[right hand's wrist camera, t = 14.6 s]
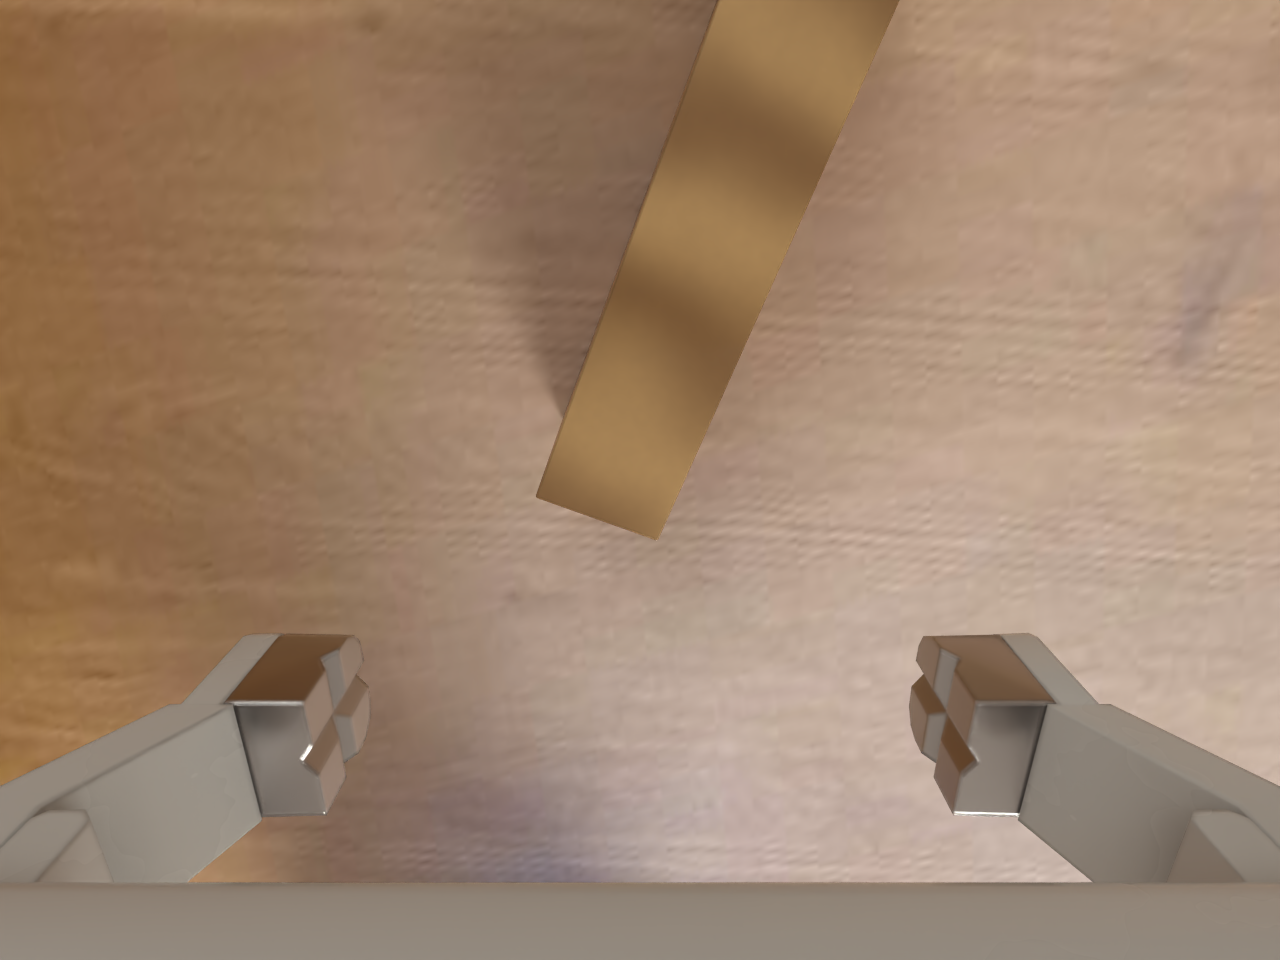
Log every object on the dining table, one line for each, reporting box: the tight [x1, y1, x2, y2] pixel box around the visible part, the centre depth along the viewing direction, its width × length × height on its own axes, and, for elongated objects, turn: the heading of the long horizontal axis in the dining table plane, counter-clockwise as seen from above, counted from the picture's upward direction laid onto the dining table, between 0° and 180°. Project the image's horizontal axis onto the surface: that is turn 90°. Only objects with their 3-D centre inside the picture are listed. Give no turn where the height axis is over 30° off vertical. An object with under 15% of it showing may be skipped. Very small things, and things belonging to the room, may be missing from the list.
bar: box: [536, 0, 899, 540], centre depth 25 cm, size 22×4×9 cm, turn 158°
